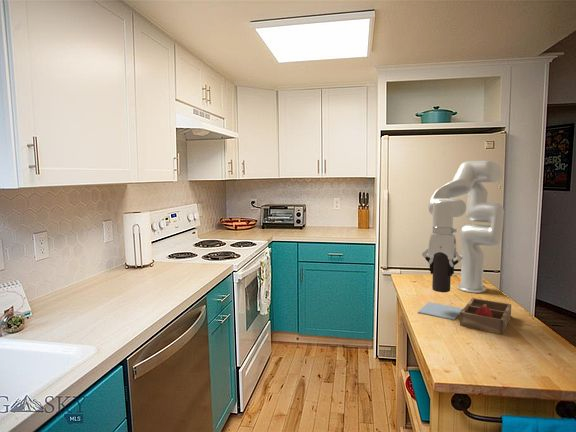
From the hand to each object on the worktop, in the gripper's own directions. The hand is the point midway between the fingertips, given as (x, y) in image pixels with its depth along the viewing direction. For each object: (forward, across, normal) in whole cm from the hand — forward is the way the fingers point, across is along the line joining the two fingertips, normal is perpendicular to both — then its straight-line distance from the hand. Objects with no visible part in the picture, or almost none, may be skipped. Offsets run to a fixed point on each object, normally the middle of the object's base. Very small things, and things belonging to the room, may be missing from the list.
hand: (441, 274), depth 154 cm
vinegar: (+7, 0, 0) cm, 7 cm away
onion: (+16, -17, +6) cm, 24 cm away
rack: (+16, -17, +1) cm, 23 cm away
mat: (+16, 0, 0) cm, 16 cm away
